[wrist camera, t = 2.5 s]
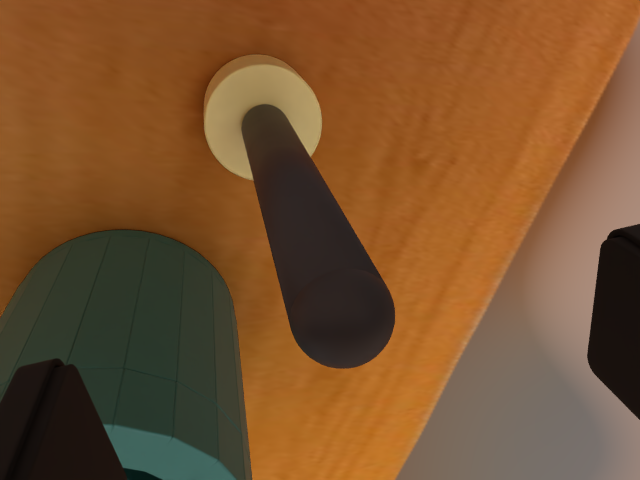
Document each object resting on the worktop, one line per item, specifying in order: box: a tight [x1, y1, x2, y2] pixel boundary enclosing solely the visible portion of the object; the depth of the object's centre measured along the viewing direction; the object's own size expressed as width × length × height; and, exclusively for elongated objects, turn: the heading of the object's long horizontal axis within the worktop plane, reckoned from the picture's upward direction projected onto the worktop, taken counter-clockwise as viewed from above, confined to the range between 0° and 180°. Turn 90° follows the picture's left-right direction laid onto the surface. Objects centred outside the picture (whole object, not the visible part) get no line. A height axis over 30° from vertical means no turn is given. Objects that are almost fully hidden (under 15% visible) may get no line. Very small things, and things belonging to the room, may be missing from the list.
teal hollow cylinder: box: [0, 230, 252, 480], centre depth 23 cm, size 11×11×13 cm
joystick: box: [204, 54, 395, 368], centre depth 17 cm, size 5×5×18 cm
